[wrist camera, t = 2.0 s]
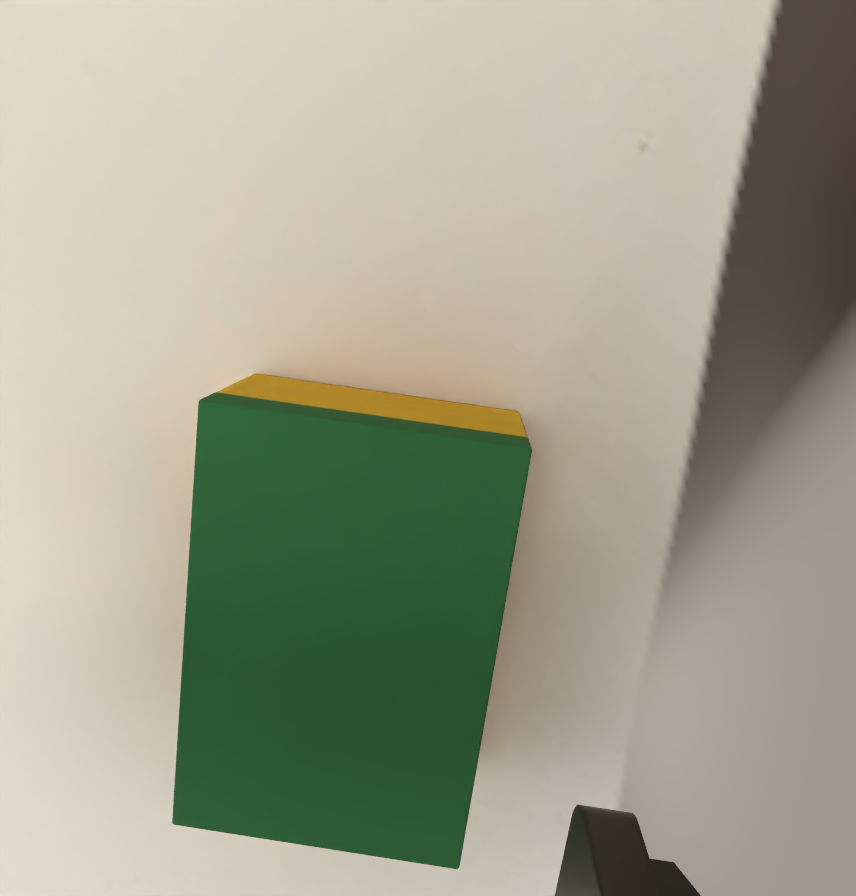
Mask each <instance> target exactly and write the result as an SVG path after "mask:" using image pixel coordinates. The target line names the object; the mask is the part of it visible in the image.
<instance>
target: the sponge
mask: <svg viewBox="0 0 856 896" xmlns="http://www.w3.org/2000/svg"><path fill="white" fill-rule="evenodd" d="M531 452H532V449H531V446H530V443H529V440H528V438H527V435H526V432H525V429H524V426H523V423H522V420H521V417H520V414H519V412H517V411H511V410H504V409H498V408H491V407H484V406H477V405H470V404H463V403H456V402H449V401H442V400H435V399H428V398H421V397H414V396H407V395H400V394H393V393H386V392H379V391H372V390H365V389H358V388H351V387H345V386H338V385H331V384H324V383H317V382H310V381H303V380H296V379H289V378H282V377H275V376H268V375H261V374H253V375H251V376H249V377H247V378H245V379H243V380H241V381H239V382H237V383H234V384H232V385H230V386H228V387H226V388H224V389H222V390H220V391H218V392H216V393H213V394H211V395H209V396H207V397H205V398H203V399H201V400H200V401H199V406H198V422H197V438H196V454H195V470H194V486H193V502H192V518H191V534H190V550H189V566H188V582H187V598H186V613H185V629H184V645H183V661H182V677H181V693H180V709H179V725H178V741H177V757H176V773H175V789H174V805H173V821H172V822H173V824H174V825H181V826H187V827H193V828H200V829H206V830H212V831H219V832H225V833H231V834H238V835H244V836H250V837H257V838H263V839H270V840H276V841H282V842H289V843H295V844H301V845H308V846H314V847H320V848H327V849H333V850H339V851H346V852H352V853H358V854H365V855H371V856H377V857H384V858H390V859H396V860H403V861H409V862H415V863H422V864H428V865H434V866H441V867H447V868H453V869H458V868H459V865H460V860H461V854H462V848H463V842H464V837H465V831H466V825H467V820H468V814H469V808H470V802H471V797H472V791H473V785H474V779H475V774H476V768H477V762H478V756H479V751H480V745H481V739H482V733H483V728H484V722H485V716H486V711H487V705H488V699H489V693H490V688H491V682H492V676H493V670H494V665H495V659H496V653H497V647H498V642H499V636H500V630H501V624H502V619H503V613H504V607H505V602H506V596H507V590H508V584H509V579H510V573H511V567H512V561H513V556H514V550H515V544H516V538H517V533H518V527H519V521H520V515H521V510H522V504H523V498H524V492H525V487H526V481H527V475H528V470H529V464H530V458H531Z"/></svg>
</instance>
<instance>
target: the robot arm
mask: <svg viewBox="0 0 856 896" xmlns="http://www.w3.org/2000/svg"><path fill="white" fill-rule="evenodd" d="M555 896H700V894H699V893H698V892H697V891H696V889H695V888H694V887H693V886H692V885H691V883H690V882H689V881H688V879H687V878H686V877H685V876H684V875H683V873H682V872H681V871H680V870H679V868H678V867H677V866H676V865H675V863H674V862H668V861H661V860H655V859H649V856H648V853H647V850H646V846H645V843H644V840H643V837H642V834H641V830H640V827H639V824H638V821H637V818H636V817H635V815H634V814H633V813H628V812H622V811H615V810H609V809H602V808H596V807H589V806H582V805H577V806H576V807H575V809H574V811H573V814H572V818H571V823H570V827H569V832H568V837H567V841H566V846H565V851H564V856H563V860H562V865H561V870H560V874H559V879H558V884H557V888H556V893H555Z"/></svg>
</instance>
